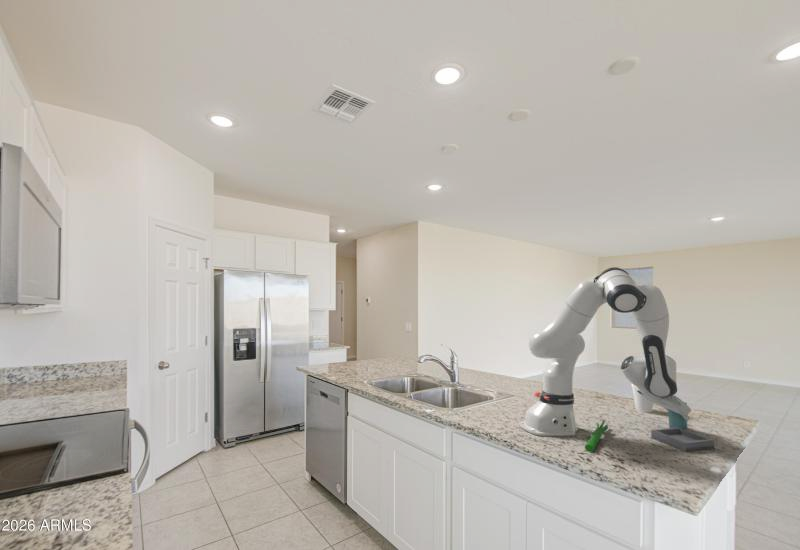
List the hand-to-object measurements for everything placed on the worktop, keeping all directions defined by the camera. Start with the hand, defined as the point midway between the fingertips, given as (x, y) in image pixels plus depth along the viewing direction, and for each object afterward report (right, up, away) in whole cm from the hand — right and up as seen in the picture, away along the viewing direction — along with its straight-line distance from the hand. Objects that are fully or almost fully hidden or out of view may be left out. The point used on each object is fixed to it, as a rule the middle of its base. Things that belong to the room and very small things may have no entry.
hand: (679, 414), depth 148 cm
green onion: (-40, -5, -11) cm, 41 cm away
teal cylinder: (-1, -6, 0) cm, 6 cm away
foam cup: (+2, -8, +25) cm, 26 cm away
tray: (-10, -5, -14) cm, 18 cm away
